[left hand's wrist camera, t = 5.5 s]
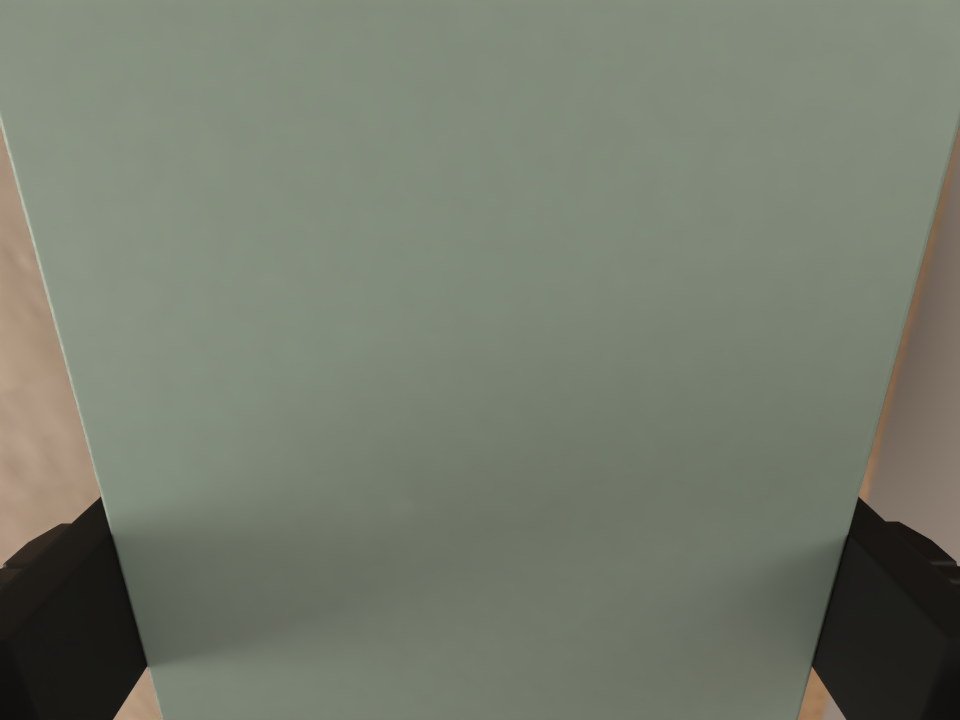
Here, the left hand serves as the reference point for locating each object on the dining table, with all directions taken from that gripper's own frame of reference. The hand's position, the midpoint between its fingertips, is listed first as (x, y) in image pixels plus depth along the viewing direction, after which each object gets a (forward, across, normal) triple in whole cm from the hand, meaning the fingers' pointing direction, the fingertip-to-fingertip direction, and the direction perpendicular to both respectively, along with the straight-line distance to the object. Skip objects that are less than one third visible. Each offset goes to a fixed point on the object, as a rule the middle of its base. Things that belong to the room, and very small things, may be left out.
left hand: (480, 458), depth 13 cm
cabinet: (+4, 0, -6) cm, 7 cm away
